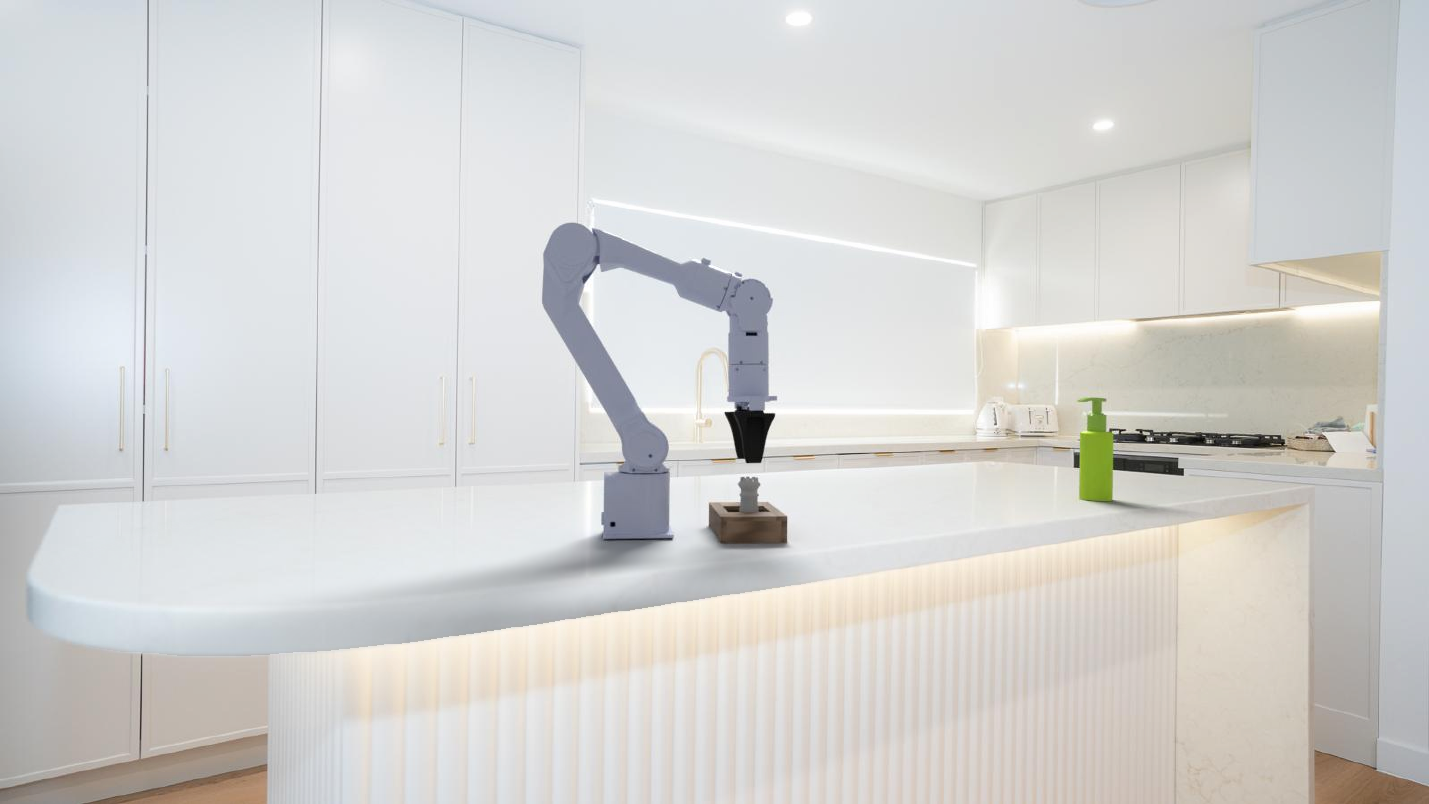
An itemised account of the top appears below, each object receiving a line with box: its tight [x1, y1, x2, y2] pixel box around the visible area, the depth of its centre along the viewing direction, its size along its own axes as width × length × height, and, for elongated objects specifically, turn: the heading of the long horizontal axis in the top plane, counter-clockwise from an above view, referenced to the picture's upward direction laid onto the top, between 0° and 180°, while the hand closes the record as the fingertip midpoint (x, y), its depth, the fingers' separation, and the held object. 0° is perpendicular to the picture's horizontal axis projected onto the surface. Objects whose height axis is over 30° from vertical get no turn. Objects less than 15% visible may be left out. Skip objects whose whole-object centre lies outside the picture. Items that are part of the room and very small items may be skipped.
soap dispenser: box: [1076, 397, 1114, 502], centre depth 152 cm, size 6×7×20 cm
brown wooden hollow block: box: [708, 501, 788, 544], centre depth 110 cm, size 9×14×4 cm, turn 7°
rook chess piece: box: [737, 476, 761, 512], centre depth 110 cm, size 4×4×8 cm
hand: (748, 460), depth 110 cm, fingers open, 7 cm apart
